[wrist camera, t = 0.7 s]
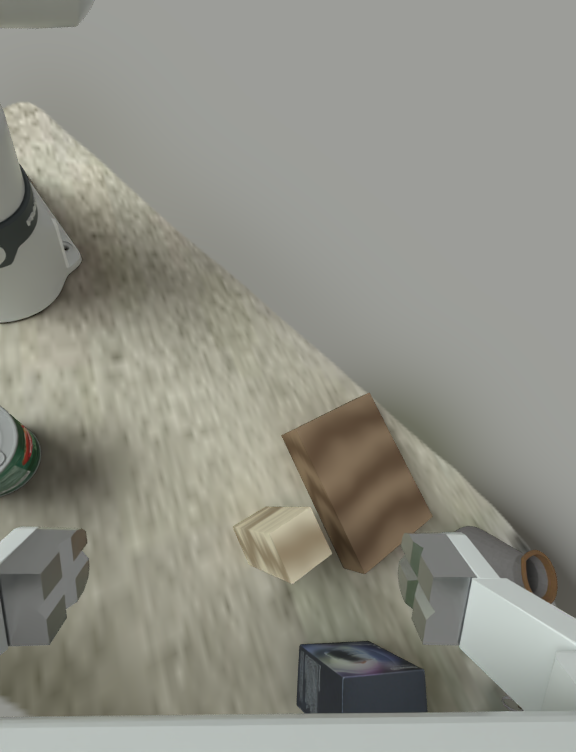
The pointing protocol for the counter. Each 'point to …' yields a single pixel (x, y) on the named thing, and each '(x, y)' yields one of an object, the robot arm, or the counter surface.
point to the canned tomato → (16, 454)
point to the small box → (357, 680)
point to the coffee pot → (516, 567)
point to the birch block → (283, 541)
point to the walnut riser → (357, 482)
